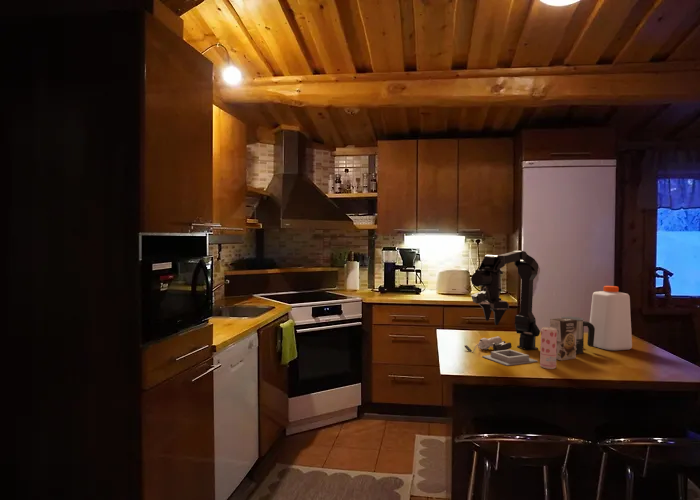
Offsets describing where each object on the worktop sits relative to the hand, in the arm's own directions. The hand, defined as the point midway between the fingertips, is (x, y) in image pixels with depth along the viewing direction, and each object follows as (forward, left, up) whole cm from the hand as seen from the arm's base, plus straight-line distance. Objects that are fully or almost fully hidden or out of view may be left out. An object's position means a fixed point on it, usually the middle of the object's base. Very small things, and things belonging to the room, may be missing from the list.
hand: (491, 322), depth 193 cm
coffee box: (-27, +13, -14) cm, 33 cm away
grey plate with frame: (-4, +7, -14) cm, 16 cm away
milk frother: (-43, +4, -14) cm, 45 cm away
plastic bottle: (-64, +7, -14) cm, 66 cm away
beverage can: (-10, +21, -14) cm, 27 cm away
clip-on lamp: (-5, -8, -15) cm, 17 cm away
